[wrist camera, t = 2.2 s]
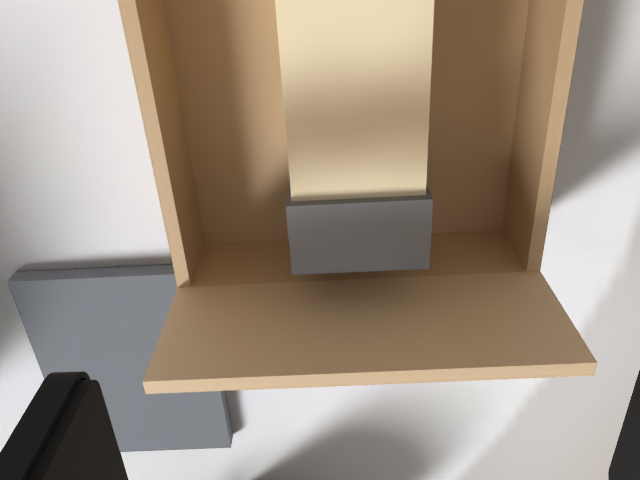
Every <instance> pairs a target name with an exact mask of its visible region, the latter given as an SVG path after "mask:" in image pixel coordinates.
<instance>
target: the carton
mask: <svg viewBox="0 0 640 480" xmlns="http://www.w3.org/2000/svg"><path fill="white" fill-rule="evenodd" d="M118 4H119V9H120V14H121V18H122V23H123V28H124V33H125V38H126V42H127V47H128V52H129V57H130V62H131V66H132V71H133V76H134V81H135V86H136V90H137V95H138V100H139V105H140V110H141V114H142V119H143V124H144V129H145V134H146V138H147V143H148V148H149V153H150V158H151V162H152V167H153V172H154V177H155V182H156V186H157V191H158V196H159V201H160V206H161V210H162V215H163V220H164V225H165V230H166V234H167V239H168V244H169V249H170V254H171V258H172V263H173V268H174V273H175V278H176V282H177V287H178V288H177V290H176V293H175V296H174V298H173V301H172V304H171V306H170V309H169V312H168V314H167V317H166V320H165V322H164V325H163V328H162V330H161V333H160V336H159V339H158V341H157V344H156V347H155V349H154V352H153V355H152V357H151V360H150V363H149V365H148V368H147V371H146V373H145V376H144V379H143V381H142V382H143V386H144V389H145V393H146V394H158V393H182V392H206V391H231V390H255V389H279V388H303V387H327V386H351V385H375V384H400V383H424V382H448V381H472V380H496V379H520V378H544V377H568V376H593V375H594V374H595V370H596V366H597V361H596V360H595V358H594V357H593V355H592V354H591V352H590V350H589V349H588V347H587V345H586V344H585V342H584V341H583V339H582V337H581V336H580V334H579V333H578V331H577V329H576V328H575V326H574V325H573V323H572V321H571V320H570V318H569V317H568V315H567V313H566V312H565V310H564V309H563V307H562V305H561V304H560V302H559V301H558V299H557V297H556V296H555V294H554V293H553V291H552V289H551V288H550V286H549V285H548V283H547V282H546V280H545V278H544V277H543V275H542V274H541V272H540V268H541V262H542V255H543V249H544V243H545V237H546V231H547V225H548V219H549V213H550V206H551V200H552V194H553V188H554V182H555V176H556V170H557V163H558V157H559V151H560V145H561V139H562V133H563V127H564V120H565V114H566V108H567V102H568V96H569V90H570V84H571V78H572V71H573V65H574V59H575V53H576V47H577V41H578V35H579V28H580V22H581V16H582V10H583V4H584V0H434V20H433V43H432V66H431V89H430V111H429V134H428V157H427V180H426V183H427V186H428V188H429V191H430V193H431V195H432V198H433V212H432V231H431V251H430V269H413V270H391V271H369V272H347V273H325V274H303V275H292V271H291V260H290V248H289V237H288V226H287V215H286V200H287V190H288V181H289V164H288V152H287V140H286V128H285V116H284V104H283V92H282V80H281V68H280V56H279V44H278V32H277V20H276V8H275V0H118Z"/></svg>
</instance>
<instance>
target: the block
mask: <svg viewBox="0 0 640 480" xmlns="http://www.w3.org/2000/svg"><path fill="white" fill-rule="evenodd" d="M275 8H276V20H277V32H278V44H279V56H280V68H281V80H282V92H283V104H284V116H285V128H286V140H287V152H288V164H289V181H288V190H287V200H286V215H287V226H288V237H289V248H290V260H291V271H292V275H303V274H325V273H347V272H369V271H391V270H413V269H430V251H431V231H432V212H433V198H432V195H431V193H430V191H429V188H428V186H427V183H426V180H427V157H428V134H429V111H430V89H431V66H432V43H433V20H434V0H275Z"/></svg>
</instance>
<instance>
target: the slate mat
mask: <svg viewBox="0 0 640 480" xmlns="http://www.w3.org/2000/svg"><path fill="white" fill-rule="evenodd" d="M8 285H9V288H10V290H11V293H12V296H13V298H14V301H15V303H16V306H17V309H18V311H19V314H20V316H21V319H22V322H23V324H24V327H25V330H26V332H27V335H28V337H29V340H30V343H31V345H32V348H33V351H34V353H35V356H36V358H37V361H38V364H39V366H40V369H41V371H42V374H43V377H44V379H45V378H46V377H47V375H48V374H50V373H52V372H86V373H87V374H88V375H89V377H90V379H91V380H97V381H98V382H99V384H100V387H101V390H102V393H103V397H104V400H105V403H106V407H107V410H108V413H109V417H110V420H111V423H112V427H113V430H114V433H115V437H116V440H117V444H118V447H119V450H120V452H130V451H155V450H180V449H206V448H231V443H232V437H233V433H232V427H231V422H230V416H229V411H228V405H227V399H226V394H225V391H206V392H182V393H158V394H146V393H145V389H144V386H143V382H142V381H143V379H144V376H145V373H146V371H147V368H148V365H149V363H150V360H151V357H152V355H153V352H154V349H155V347H156V344H157V341H158V339H159V336H160V333H161V330H162V328H163V325H164V322H165V320H166V317H167V314H168V312H169V309H170V306H171V304H172V301H173V298H174V296H175V293H176V290H177V288H178V287H177V282H176V278H175V273H174V268H173V264H169V265H147V266H125V267H103V268H82V269H60V270H38V271H17V272H15V273H14V275H13V276H12V277H11V278H10V279H9V281H8Z"/></svg>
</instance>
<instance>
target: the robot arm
mask: <svg viewBox="0 0 640 480" xmlns="http://www.w3.org/2000/svg"><path fill="white" fill-rule="evenodd" d="M0 480H128V477H127V474H126V470H125V467H124V464H123V460H122V457H121V454H120V450H119V447H118V444H117V440H116V437H115V433H114V430H113V427H112V423H111V420H110V417H109V413H108V410H107V407H106V403H105V400H104V397H103V393H102V390H101V387H100V384H99V382H98V381H97V380H91V379H90V377H89V375H88V374H87V373H86V372H52V373H50V374H48V375H47V377H46V378H45V379H44V381H43V383H42V384H41V386H40V388H39V389H38V391H37V393H36V394H35V396H34V398H33V399H32V401H31V403H30V404H29V406H28V408H27V409H26V411H25V413H24V414H23V416H22V418H21V419H20V421H19V423H18V424H17V426H16V428H15V429H14V431H13V433H12V434H11V436H10V438H9V439H8V441H7V443H6V444H5V446H4V448H3V449H2V451H1V452H0ZM609 480H640V371H639V374H638V377H637V380H636V383H635V387H634V391H633V393H632V396H631V400H630V403H629V406H628V409H627V413H626V416H625V419H624V422H623V426H622V429H621V432H620V435H619V439H618V442H617V445H616V448H615V452H614V455H613V458H612V461H611V465H610V468H609Z"/></svg>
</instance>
